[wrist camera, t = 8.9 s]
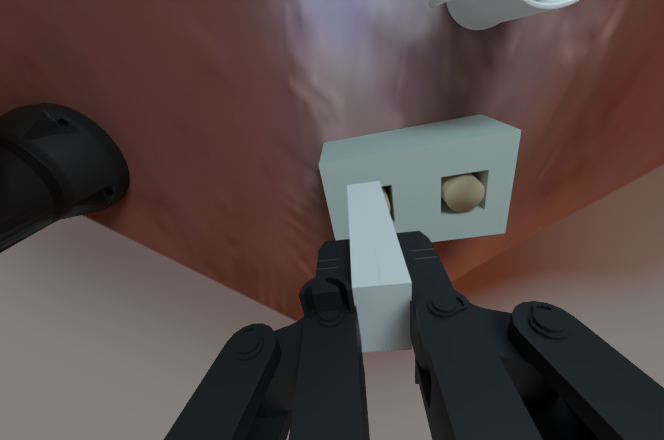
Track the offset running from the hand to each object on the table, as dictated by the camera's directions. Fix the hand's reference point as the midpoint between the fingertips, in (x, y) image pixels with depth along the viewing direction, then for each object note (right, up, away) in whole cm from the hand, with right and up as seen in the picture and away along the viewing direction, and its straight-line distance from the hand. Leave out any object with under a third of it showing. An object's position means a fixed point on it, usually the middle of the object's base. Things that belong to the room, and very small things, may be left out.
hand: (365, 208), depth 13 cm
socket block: (+8, +6, +25) cm, 27 cm away
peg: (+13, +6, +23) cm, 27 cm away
